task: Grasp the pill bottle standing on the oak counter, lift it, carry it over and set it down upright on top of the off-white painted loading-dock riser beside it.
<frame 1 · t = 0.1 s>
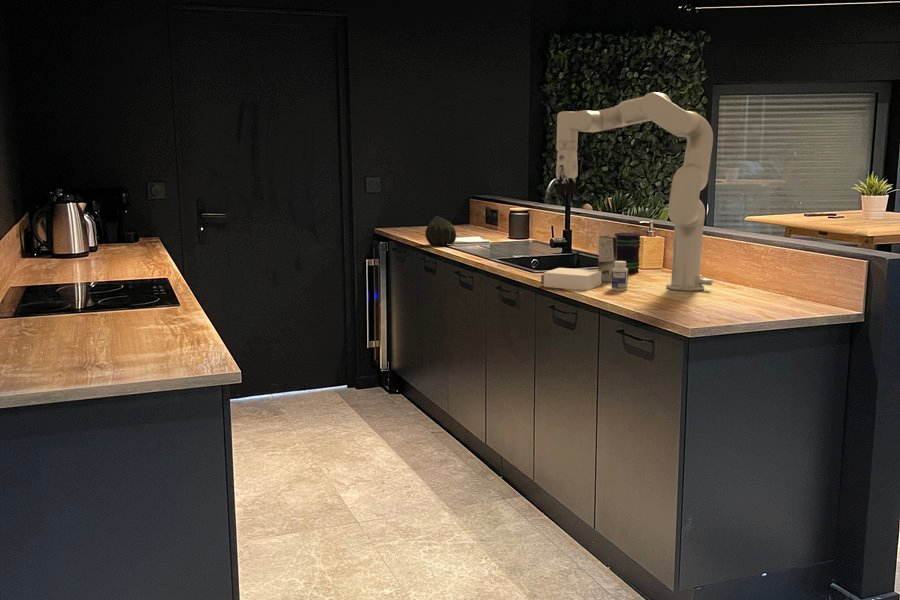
hand: (565, 194, 315), 31 cm above the countertop, tool pointing down, fingers open, 9 cm apart
squash: (440, 245, 426), on the countertop
coffee box: (606, 280, 318), on the countertop
dock riser: (572, 285, 304), on the countertop
storage jar: (626, 272, 338), on the countertop
pill bottle: (619, 290, 296), on the countertop
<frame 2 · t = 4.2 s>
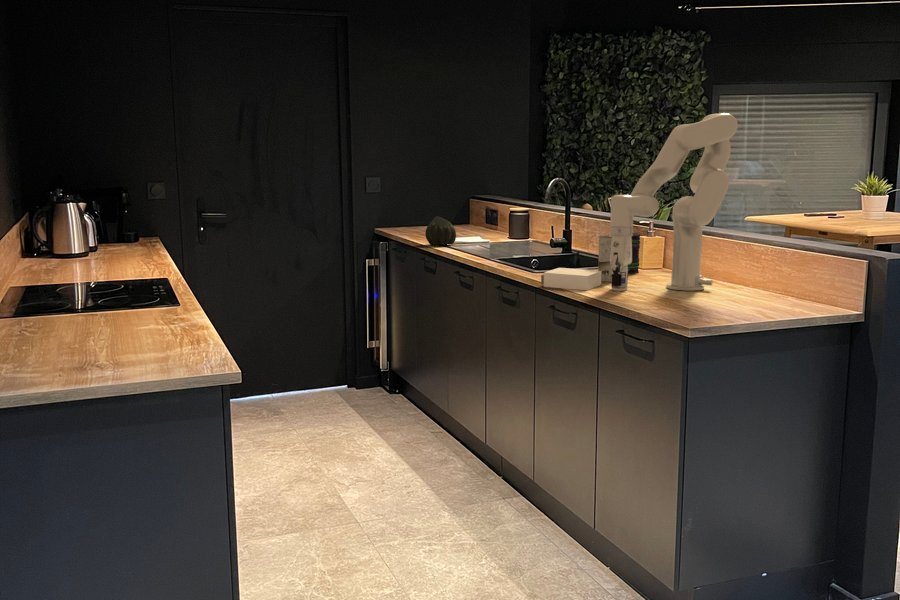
hand: (619, 283, 296), 2 cm above the countertop, tool pointing down, fingers closed on pill bottle, 5 cm apart
pill bottle: (619, 290, 296), on the countertop, touching gripper
everything else where it was.
when the fingers open (8 cm above the countertop, at t = 10.4 s): pill bottle drops 1 cm, resting on dock riser.
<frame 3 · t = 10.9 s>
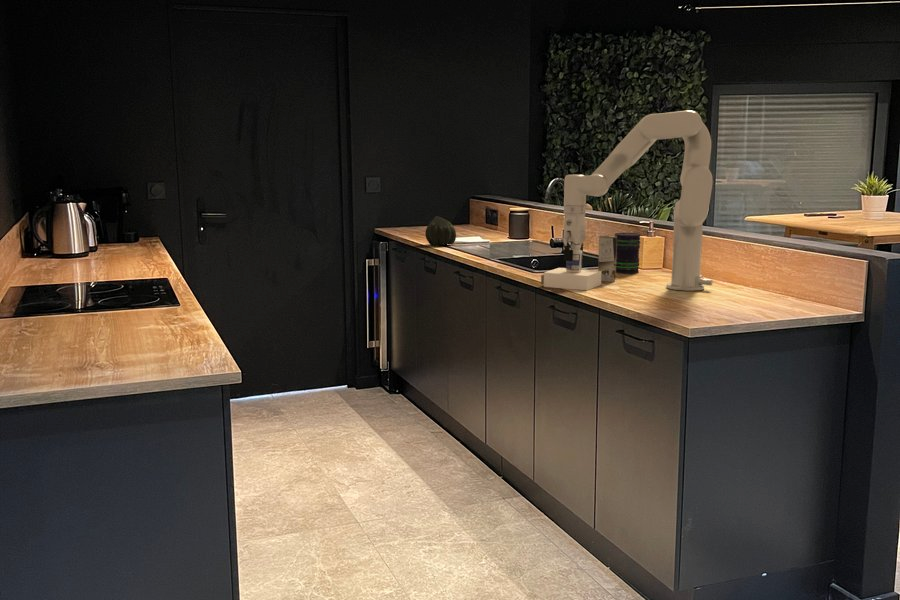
hand: (573, 259, 303), 9 cm above the countertop, tool pointing down, fingers open, 9 cm apart
pill bottle: (573, 271, 303), point 5 cm above the countertop, touching dock riser
everything else where it was.
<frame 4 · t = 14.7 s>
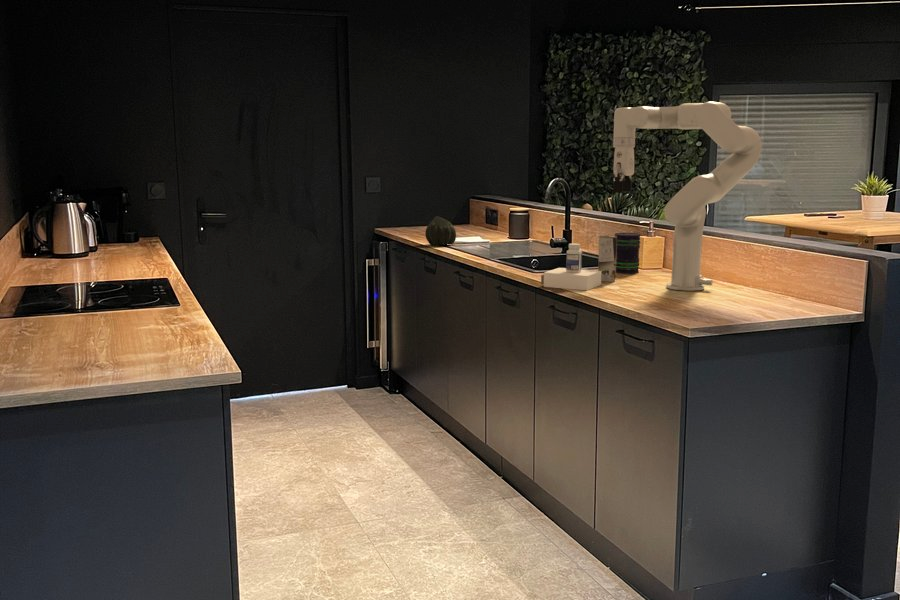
hand: (622, 191, 309), 32 cm above the countertop, tool pointing down, fingers open, 9 cm apart
nothing on the countertop moved.
at the end: pill bottle inside the target area on the dock riser (0.2 cm from its centre), point 4.8 cm above the dock riser's base; pill bottle tilted 1°; the gripper is holding nothing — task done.
